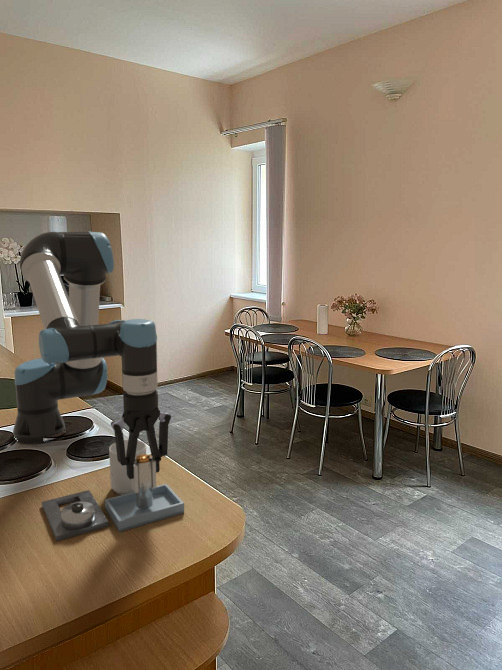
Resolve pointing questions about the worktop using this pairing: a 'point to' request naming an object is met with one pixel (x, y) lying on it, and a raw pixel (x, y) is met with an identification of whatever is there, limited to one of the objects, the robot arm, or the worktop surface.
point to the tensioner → (74, 515)
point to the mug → (122, 468)
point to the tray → (131, 516)
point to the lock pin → (144, 481)
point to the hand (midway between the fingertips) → (143, 487)
